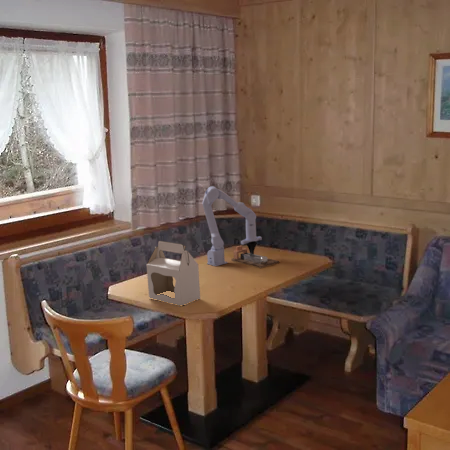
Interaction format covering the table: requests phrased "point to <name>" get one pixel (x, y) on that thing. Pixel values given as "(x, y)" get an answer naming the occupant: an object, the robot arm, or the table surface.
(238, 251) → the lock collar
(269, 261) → the walnut board
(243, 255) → the base
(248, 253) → the tongs arm
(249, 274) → the table surface
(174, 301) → the gable box
